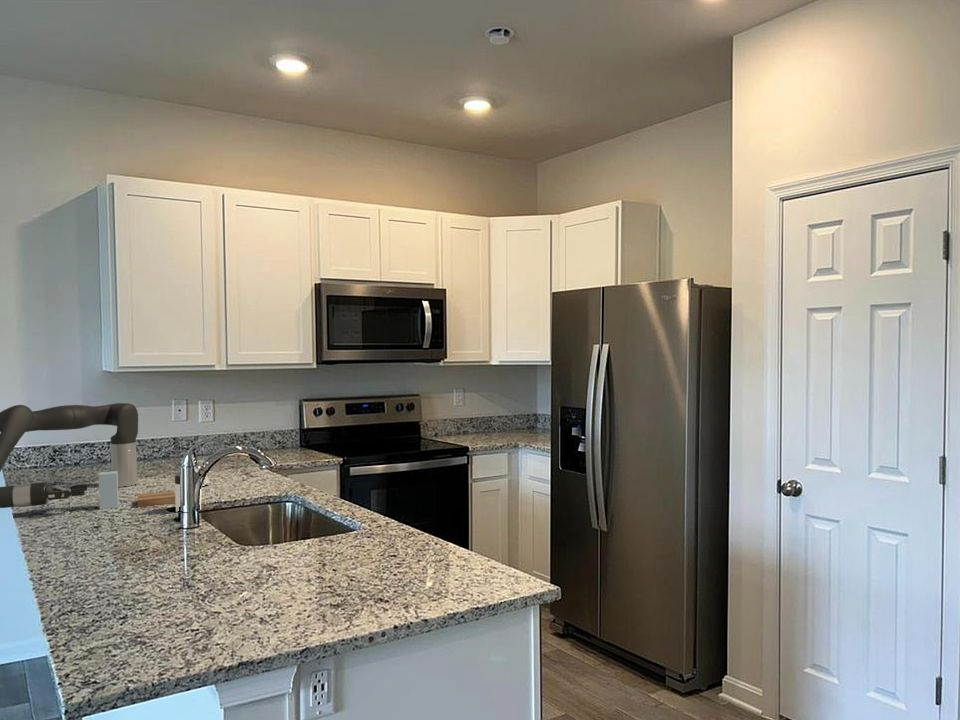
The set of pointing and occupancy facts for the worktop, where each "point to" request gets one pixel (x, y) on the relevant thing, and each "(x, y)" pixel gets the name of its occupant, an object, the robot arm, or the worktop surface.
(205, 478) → the flask
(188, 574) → the worktop surface
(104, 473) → the pillar
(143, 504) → the slab
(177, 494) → the jar
